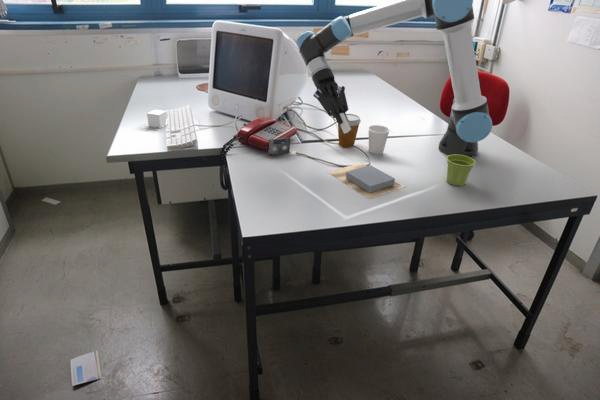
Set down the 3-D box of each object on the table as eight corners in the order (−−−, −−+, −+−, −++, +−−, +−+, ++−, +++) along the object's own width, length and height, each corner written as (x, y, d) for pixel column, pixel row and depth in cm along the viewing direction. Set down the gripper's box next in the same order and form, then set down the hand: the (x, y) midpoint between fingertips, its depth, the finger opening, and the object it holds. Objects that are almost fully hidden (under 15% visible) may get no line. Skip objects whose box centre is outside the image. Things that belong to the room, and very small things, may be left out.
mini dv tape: (288, 151, 161) (288, 136, 158) (289, 152, 160) (289, 138, 157) (268, 153, 158) (268, 138, 155) (269, 154, 157) (269, 140, 154)
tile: (346, 171, 139) (370, 186, 130) (370, 165, 144) (395, 178, 136) (345, 178, 140) (369, 193, 131) (369, 171, 145) (393, 185, 137)
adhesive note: (160, 128, 178) (158, 115, 175) (148, 126, 179) (146, 113, 176) (168, 124, 183) (166, 111, 180) (156, 122, 184) (154, 109, 181)
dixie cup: (389, 151, 164) (393, 127, 159) (381, 158, 158) (385, 134, 153) (369, 146, 168) (372, 123, 163) (361, 153, 162) (364, 129, 157)
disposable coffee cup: (343, 139, 174) (345, 111, 168) (362, 145, 169) (365, 117, 163) (330, 145, 168) (332, 116, 162) (349, 151, 163) (352, 122, 157)
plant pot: (436, 181, 143) (441, 158, 138) (449, 173, 148) (454, 151, 144) (461, 191, 137) (467, 168, 133) (474, 182, 143) (480, 160, 138)
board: (326, 174, 144) (326, 172, 144) (361, 164, 152) (361, 162, 152) (368, 201, 129) (369, 199, 128) (404, 189, 137) (404, 187, 136)
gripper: (330, 77, 153) (356, 132, 149) (301, 81, 146) (327, 139, 143) (340, 65, 146) (367, 123, 143) (310, 69, 140) (338, 129, 136)
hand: (347, 131), depth 143 cm, fingers closed
